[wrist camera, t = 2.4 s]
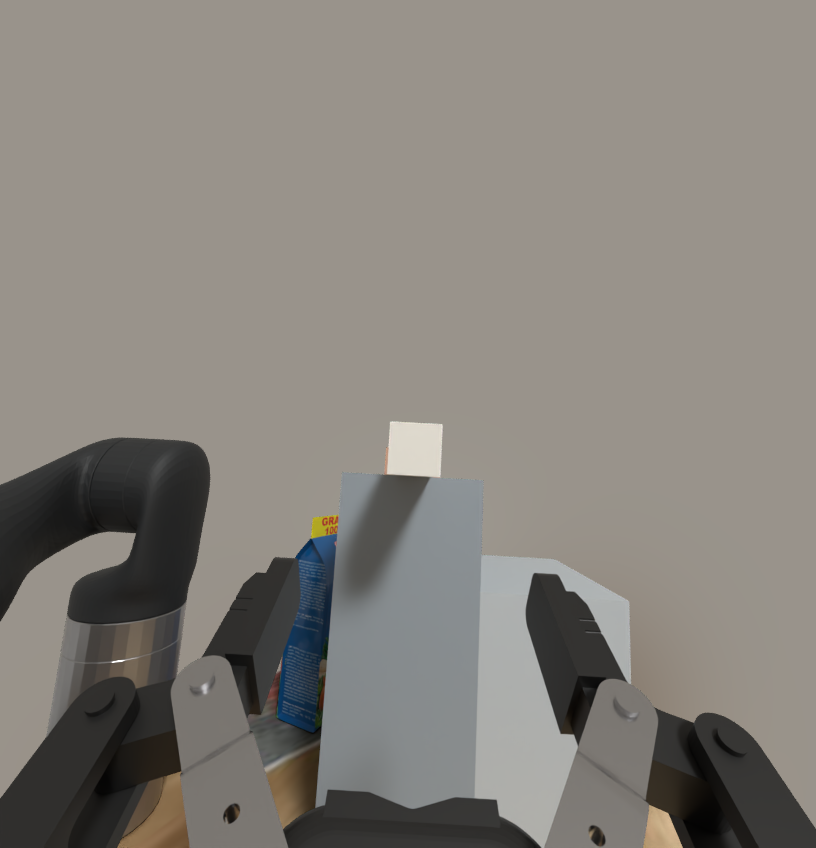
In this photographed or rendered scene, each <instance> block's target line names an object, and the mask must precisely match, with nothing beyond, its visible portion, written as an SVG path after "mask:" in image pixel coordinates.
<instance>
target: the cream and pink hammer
mask: <svg viewBox="0 0 816 848" xmlns="http://www.w3.org/2000/svg"><path fill="white" fill-rule="evenodd" d="M442 426H443V425H442V424H428V423H408V422H390V434H389V448H387V447H386V459H385V475H397V476H415V477H433V478H440V471H441V449H442Z"/></svg>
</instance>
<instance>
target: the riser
mask: <svg viewBox="0 0 816 848" xmlns="http://www.w3.org/2000/svg"><path fill="white" fill-rule="evenodd" d="M482 514H483V480H468V479H450V478H433V477H415V476H397V475H380V474H362V473H344V472H343V473H342V480H341V493H340V506H339V518H338V531H337V543H336V556H335V568H334V581H333V593H332V606H331V619H330V631H329V644H328V656H327V669H326V681H325V694H324V707H323V719H322V732H321V744H320V757H319V770H318V782H317V795H316V807H315V808H317V807H320V806H323V805H325V802H326V796H327V790H328V789H329V790H346V791H362V792H371V793H373V794H375V795H378V796H380V797H383V798H385V799H388V800H390V801H392V802H395V803H397V804H400V805H402V806H404V807H407V808H410V809H415V808H419V807H423V806H426V805H430V804H433V803H437V802H440V801H444V800H447V799H450V798H454V797H461V798H478V799H494V800H497V804H498V811H499V816H500V817H503V818H505V819H507V820H509V821H510V822H512V823H514V824H516V825H517V826H518V827H520V828H521V829H522V830H524V831H525V832H526V833H527V834H529V835H530V836H531V837H532V838H533V839H534V840H535V841H536V842H537V843H538V844H539V845H540V847H541V848H544V846H545V843H546V840H547V837H548V835H549V832H550V829H551V826H552V823H553V820H554V817H555V814H556V811H557V808H558V805H559V802H560V799H561V796H562V793H563V790H564V787H565V784H566V781H567V778H568V775H569V772H570V769H571V766H572V763H573V760H574V757H575V754H576V751H577V748H578V745H577V742H576V739H575V736H574V735H569V734H560V731H559V728H558V725H557V721H556V718H555V715H554V712H553V708H552V705H551V702H550V699H549V695H548V692H547V689H546V686H545V683H544V679H543V676H542V673H541V670H540V666H539V663H538V660H537V657H536V654H535V650H534V647H533V644H532V641H531V637H530V634H529V631H528V628H527V623H526V604H527V599H528V594H529V590H530V585H531V580H532V576H533V574H534V573H546V574H557V575H558V576H559V577H560V579H561V581H562V583H563V585H564V587H565V590H566V591H573V592H576V593H577V594H578V595H579V597H580V598H581V599H582V600H583V601H584V602H585V603H586V604H587V605H588V607H589V609H590V611H591V612H592V614H593V616H594V618H595V622H597V624H598V626H599V628H600V630H601V634H603V636H604V638H605V640H606V642H607V644H608V646H609V648H610V649H611V651H612V653H613V655H614V657H615V659H616V661H617V663H618V665H619V667H620V669H621V671H622V673H623V675H624V677H625V679H626V680H627V682H628V683H629V684H631V664H630V621H629V601H628V600H626V599H624V598H622V597H621V596H619V595H617V594H615V593H614V592H612V591H610V590H608V589H607V588H605V587H603V586H601V585H599V584H598V583H596V582H594V581H592V580H591V579H589V578H587V577H585V576H584V575H582V574H580V573H578V572H576V571H574V570H573V569H571V568H569V567H568V566H566V565H564V564H562V563H561V562H559V561H557V560H555V559H541V558H523V557H506V556H490V555H481V551H482Z"/></svg>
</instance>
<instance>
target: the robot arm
mask: <svg viewBox="0 0 816 848" xmlns="http://www.w3.org/2000/svg"><path fill="white" fill-rule="evenodd" d="M209 487H210V467H209V463H208V459H207V457H206V454H205V452H204V451H203V450H202V449H201V448H200V447H199V446H198V445H196V444H194V443H191V442H186V441H177V440H160V439H142V438H141V439H140V438H112V439H107V440H102V441H99V442H96V443H93V444H90V445H88V446H86V447H83V448H81V449H79V450H77V451H74V452H72V453H70V454H68V455H66V456H64V457H62V458H59V459H57V460H55V461H53V462H51V463H49V464H46V465H44V466H42V467H40V468H38V469H36V470H33V471H31V472H29V473H27V474H25V475H23V476H20V477H18V478H16V479H14V480H11V481H9V482H7V483H4V484H1V485H0V621H1V619H2V618H3V616H4V615H5V613H6V611H7V610H8V608H9V606H10V604H11V603H12V601H13V599H14V597H15V595H16V593H17V591H18V589H19V587H20V585H21V583H22V582H23V580H24V579H25V577H26V575H27V574H28V573H29V572H30V571H31V570H32V569H33V568H34V567H36V566H37V565H38V564H40V563H41V562H43V561H44V560H45V559H47V558H49V557H50V556H52V555H53V554H55V553H57V552H59V551H61V550H62V549H64V548H66V547H68V546H70V545H72V544H73V543H75V542H77V541H79V540H82V539H84V538H86V537H88V536H90V535H94V534H97V533H102V532H109V531H110V532H125V533H136V536H135V539H134V543H133V547H132V550H131V553H130V556H129V557H128V559H127V560H126V561H125V562H123V563H122V564H120V565H118V566H114V567H110V568H107V569H103V570H100V571H97V572H94V573H91V574H88V575H86V576H84V577H82V578H81V579H80V580H78V581H77V582H76V583H75V585H74V587H73V589H72V591H71V595H70V600H69V606H68V613H67V618H66V624H65V629H64V636H63V641H62V648H61V654H60V660H59V666H58V672H57V678H56V683H55V690H54V695H53V702H52V707H51V713H50V719H49V725H48V731H47V737H46V738H45V740H44V741H43V742H42V744H41V745H40V747H39V748H38V749H37V751H36V752H35V753H34V755H33V756H32V757H31V759H30V760H29V761H28V762H27V764H26V765H25V766H24V768H23V769H22V771H21V772H20V773H19V775H18V776H17V777H16V778H15V780H14V781H13V782H12V784H11V785H10V787H9V788H8V789H7V791H6V792H5V793H4V795H3V796H2V797H1V799H0V848H117V846H118V844H119V842H120V840H121V838H123V837H124V836H125V835H127V834H128V833H130V832H131V831H133V830H134V829H135V828H136V827H137V826H139V825H140V824H141V823H142V822H143V821H144V820H145V819H146V818H147V817H148V816H149V815H150V813H151V812H152V811H153V810H154V808H155V806H156V805H157V803H158V801H159V799H160V796H161V792H162V784H163V777H164V776H167V775H171V774H174V773H177V772H180V771H181V772H182V773H181V774H180V777H181V787H182V794H183V802H184V809H185V816H186V823H187V831H188V838H189V845H190V848H541V847H540V845H539V844H538V843H537V842H536V841H535V840H534V839H533V838H532V837H531V836H530V835H529V834H527V833H526V832H525V831H524V830H522V829H521V828H520V827H518V826H517V825H516V824H514V823H512V822H510V821H509V820H507V819H505V818H503V817H500V816H499V811H498V804H497V800H494V799H478V798H461V797H454V798H450V799H447V800H444V801H440V802H437V803H433V804H430V805H426V806H423V807H419V808H415V809H410V808H407V807H404V806H402V805H400V804H397V803H395V802H392V801H390V800H388V799H385V798H383V797H380V796H378V795H375V794H373V793H371V792H362V791H346V790H329V789H328V790H327V796H326V802H325V805H323V806H320V807H317V808H314V809H312V810H310V811H308V812H306V813H304V814H303V815H301V816H299V817H298V818H296V819H295V820H294V821H292V822H291V823H290V824H289V825H287V826H286V827H285V828H284V829H282V825H281V822H280V819H279V816H278V812H277V809H276V806H275V802H274V799H273V796H272V793H271V789H270V786H269V783H268V780H267V776H266V773H265V770H264V766H263V763H262V760H261V757H260V753H259V750H258V747H257V743H256V740H255V737H254V735H253V732H252V731H250V728H249V725H248V722H247V718H248V715H249V714H258V715H261V713H262V711H263V708H264V705H265V702H266V700H267V697H268V694H269V691H270V688H271V686H272V683H273V680H274V677H275V674H276V672H277V669H278V666H279V663H280V660H281V658H282V655H283V652H284V649H285V646H286V644H287V641H288V638H289V635H290V632H291V630H292V627H293V624H294V621H295V619H296V616H297V613H298V609H299V605H300V597H301V591H300V576H299V563H298V559H296V558H279V557H275V558H274V559H273V561H272V562H271V564H270V566H269V568H268V570H267V572H266V573H255V574H254V575H253V576H252V577H251V578H250V579H249V580H248V581H246V582H245V583H244V584H243V586H242V588H241V589H240V591H239V593H238V595H237V597H236V600H234V602H233V603H232V605H231V607H230V610H229V611H228V612H227V614H226V616H225V618H224V619H223V621H222V623H221V625H220V626H219V628H218V630H217V632H216V633H215V635H214V637H213V639H212V641H211V642H210V644H209V646H208V648H207V649H206V651H205V653H204V655H203V656H202V658H200V659H197V660H195V661H194V662H192V663H190V664H189V665H188V666H187V667H185V668H184V669H183V670H182V671H181V672H180V673H179V674H178V676H177V671H178V663H179V655H180V648H181V640H182V631H183V623H184V615H185V608H186V600H187V593H188V587H189V583H190V580H191V578H192V575H193V571H194V569H195V566H196V562H197V556H198V550H199V544H200V538H201V532H202V527H203V522H204V516H205V512H206V507H207V501H208V495H209ZM526 623H527V628H528V631H529V634H530V637H531V641H532V644H533V647H534V650H535V654H536V657H537V660H538V663H539V666H540V670H541V673H542V676H543V679H544V683H545V686H546V689H547V692H548V695H549V699H550V702H551V705H552V708H553V712H554V715H555V718H556V721H557V725H558V728H559V731H560V734H569V735H574V736H575V739H576V742H577V745H578V748H577V751H576V754H575V757H574V760H573V763H572V766H571V769H570V772H569V775H568V778H567V781H566V784H565V787H564V790H563V793H562V796H561V799H560V802H559V805H558V808H557V811H556V814H555V817H554V820H553V823H552V826H551V829H550V832H549V835H548V837H547V840H546V843H545V846H544V848H643V845H644V838H645V832H646V826H647V819H648V812H649V805H651V806H653V807H656V808H658V809H660V810H663V811H665V812H667V813H669V816H670V818H671V820H672V823H673V825H674V827H675V830H676V832H677V835H678V837H679V839H680V842H681V844H682V847H683V848H816V829H815V827H814V826H813V824H812V823H811V821H810V820H809V818H808V817H807V815H806V814H805V812H804V811H803V809H802V808H801V806H800V805H799V803H798V802H797V801H796V799H795V798H794V796H793V795H792V793H791V792H790V790H789V789H788V787H787V786H786V784H785V783H784V781H783V780H782V778H781V777H780V775H779V774H778V773H777V771H776V769H775V768H774V767H773V765H772V763H771V762H770V760H769V759H768V758H767V756H766V755H765V753H764V752H763V750H762V749H761V747H760V746H759V745H758V743H757V742H756V741H755V740H754V738H753V737H752V736H751V735H750V734H749V733H748V732H746V731H745V730H744V729H743V728H742V727H740V726H739V725H738V724H736V723H735V722H733V721H731V720H730V719H728V718H726V717H723V716H721V715H718V714H714V713H703V714H701V715H699V716H698V717H697V718H696V720H695V722H694V723H692V722H690V721H687V720H685V719H682V718H679V717H676V716H673V715H670V714H668V713H665V712H663V711H661V710H658V709H657V708H655V707H653V705H652V703H651V702H650V700H649V699H648V698H647V697H646V696H645V695H644V694H643V693H642V692H641V691H640V690H639V689H637V688H636V687H634V686H633V685H631V684H629V683H628V682H627V680H626V679H625V677H624V675H623V673H622V671H621V669H620V667H619V665H618V663H617V661H616V659H615V657H614V655H613V653H612V651H611V649H610V648H609V646H608V644H607V642H606V640H605V638H604V636H603V634H601V630H600V628H599V626H598V624H597V622H595V618H594V616H593V614H592V612H591V611H590V609H589V607H588V605H587V604H586V603H585V602H584V601H583V600H582V599H581V598H580V597H579V595H578V594H577V593H576V592H573V591H566V590H565V587H564V585H563V583H562V581H561V579H560V577H559V576H558V575H557V574H546V573H534V574H533V576H532V580H531V585H530V590H529V594H528V599H527V604H526Z"/></svg>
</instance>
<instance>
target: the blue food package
mask: <svg viewBox="0 0 816 848" xmlns="http://www.w3.org/2000/svg"><path fill="white" fill-rule="evenodd" d="M338 518H339V515H333V516H324V517H315V518H313V524H312V535H311V539H310V540H309V541H308V542H307V543H306V545H305V546H304V547H303V548H302V549H301V550H300V552H299V553H298V554H297V556H296V557H295V558H296V559H298V563H299V576H300V591H301V597H300V605H299V609H298V613H297V616H296V619H295V621H294V624H293V627H292V630H291V632H290V635H289V638H288V641H287V644H286V646H285V649H284V652H283V655H282V661H281V672H280V682H279V693H278V704H277V714H276V717H277V718H278V719H280V720H283V721H285V722H287V723H290V724H292V725H294V726H297V727H299V728H302V729H304V730H307V731H309V732H315V731H316V730H317V729H318V728H319V727H321V726H322V719H323V707H324V694H325V681H326V669H327V656H328V644H329V631H330V619H331V606H332V593H333V581H334V568H335V556H336V543H337V531H338Z"/></svg>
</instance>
